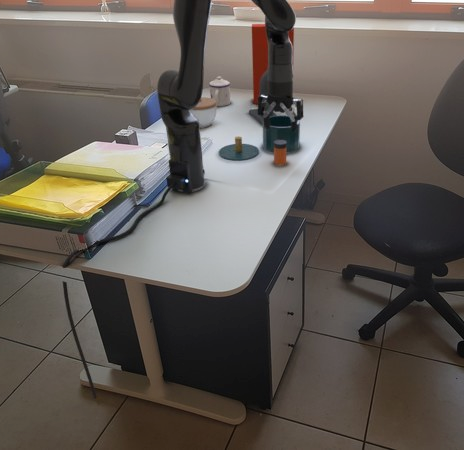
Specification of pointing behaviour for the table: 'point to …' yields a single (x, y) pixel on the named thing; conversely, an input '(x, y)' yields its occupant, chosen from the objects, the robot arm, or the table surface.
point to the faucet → (264, 91)
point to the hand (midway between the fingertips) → (280, 130)
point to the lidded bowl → (205, 111)
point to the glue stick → (280, 152)
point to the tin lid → (238, 151)
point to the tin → (281, 133)
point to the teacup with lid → (220, 91)
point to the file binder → (262, 55)
